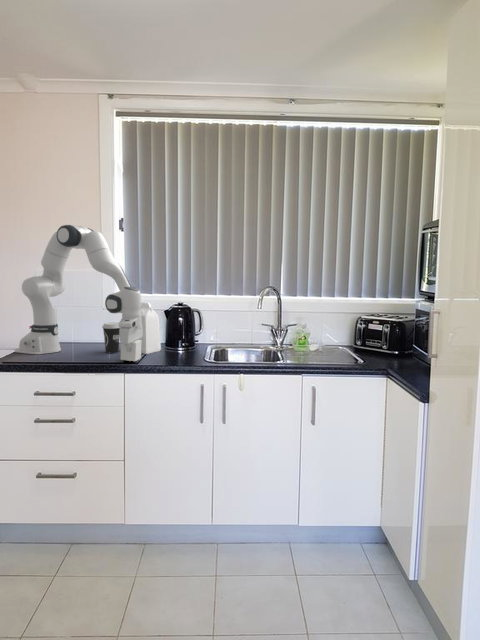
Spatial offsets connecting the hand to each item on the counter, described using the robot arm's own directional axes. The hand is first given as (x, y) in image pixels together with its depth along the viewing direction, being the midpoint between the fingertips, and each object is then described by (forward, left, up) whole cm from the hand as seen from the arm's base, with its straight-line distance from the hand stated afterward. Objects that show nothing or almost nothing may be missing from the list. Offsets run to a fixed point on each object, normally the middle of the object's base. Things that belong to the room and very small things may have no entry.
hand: (132, 350), depth 218 cm
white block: (-1, 0, -4) cm, 4 cm away
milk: (-3, +26, -6) cm, 27 cm away
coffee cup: (-19, +20, -6) cm, 28 cm away
